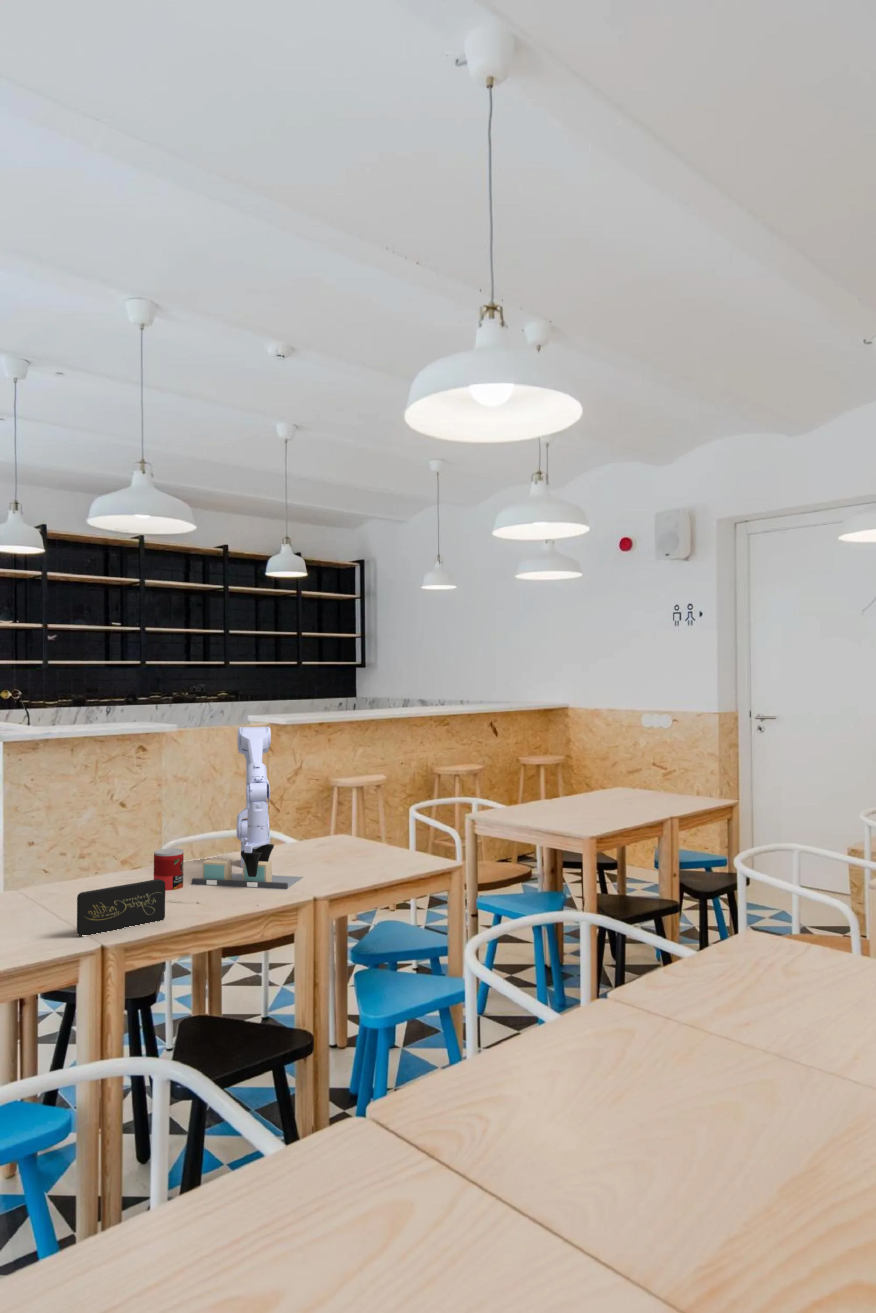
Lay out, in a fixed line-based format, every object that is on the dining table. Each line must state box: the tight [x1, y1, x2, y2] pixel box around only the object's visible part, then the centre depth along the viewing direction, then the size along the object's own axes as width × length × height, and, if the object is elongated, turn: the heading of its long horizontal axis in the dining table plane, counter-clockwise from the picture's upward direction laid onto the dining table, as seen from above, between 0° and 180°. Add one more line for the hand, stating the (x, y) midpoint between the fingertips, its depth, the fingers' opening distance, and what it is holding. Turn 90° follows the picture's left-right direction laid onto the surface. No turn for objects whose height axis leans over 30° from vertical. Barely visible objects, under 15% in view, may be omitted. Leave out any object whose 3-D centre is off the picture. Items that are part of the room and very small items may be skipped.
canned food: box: [153, 847, 185, 892], centre depth 247 cm, size 8×8×11 cm
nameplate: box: [76, 879, 166, 937], centre depth 212 cm, size 21×2×10 cm, turn 134°
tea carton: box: [242, 861, 273, 882], centre depth 251 cm, size 7×4×6 cm, turn 78°
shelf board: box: [191, 872, 304, 891], centre depth 255 cm, size 15×28×2 cm, turn 80°
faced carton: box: [201, 858, 233, 880], centre depth 253 cm, size 7×4×6 cm, turn 80°
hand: (257, 873), depth 251 cm, fingers open, 7 cm apart
